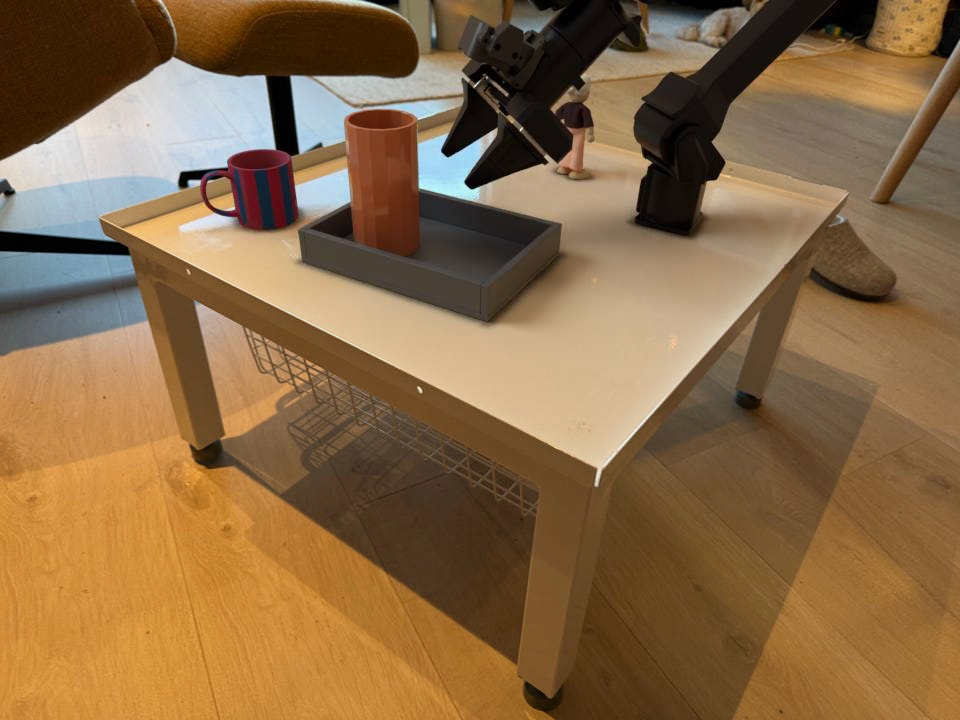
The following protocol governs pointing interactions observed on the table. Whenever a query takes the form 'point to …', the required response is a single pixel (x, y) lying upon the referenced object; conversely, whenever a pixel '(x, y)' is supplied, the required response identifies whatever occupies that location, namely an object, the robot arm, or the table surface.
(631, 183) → the table surface
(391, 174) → the tumbler
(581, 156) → the grandmother figurine
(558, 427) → the table surface
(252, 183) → the mug
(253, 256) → the table surface
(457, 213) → the dark grey shallow tray
